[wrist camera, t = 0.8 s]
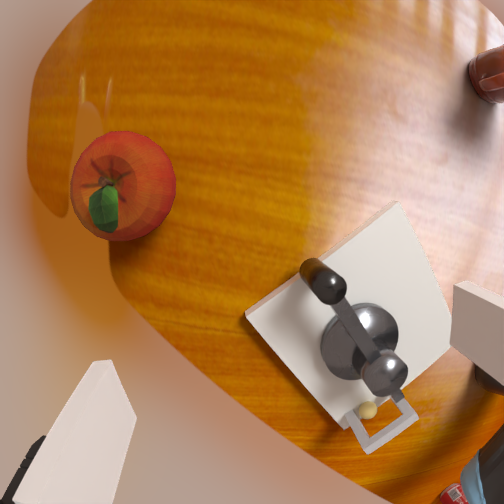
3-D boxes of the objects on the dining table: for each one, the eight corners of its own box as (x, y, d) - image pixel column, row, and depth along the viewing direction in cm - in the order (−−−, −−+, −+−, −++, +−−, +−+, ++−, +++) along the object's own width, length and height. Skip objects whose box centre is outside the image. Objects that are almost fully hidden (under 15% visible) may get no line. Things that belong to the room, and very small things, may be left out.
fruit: (175, 130, 29) (155, 105, 19) (188, 225, 31) (173, 242, 21) (87, 150, 28) (38, 138, 19) (100, 240, 30) (55, 262, 21)
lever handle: (411, 356, 35) (438, 382, 28) (354, 400, 35) (373, 432, 29) (340, 233, 31) (368, 244, 24) (267, 287, 31) (278, 312, 25)
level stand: (453, 334, 37) (490, 360, 29) (340, 423, 38) (361, 464, 29) (392, 200, 32) (438, 206, 24) (244, 311, 33) (252, 350, 25)
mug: (481, 48, 29) (527, 30, 19) (507, 100, 31) (555, 91, 21) (438, 65, 29) (490, 41, 19) (469, 125, 31) (525, 116, 21)
